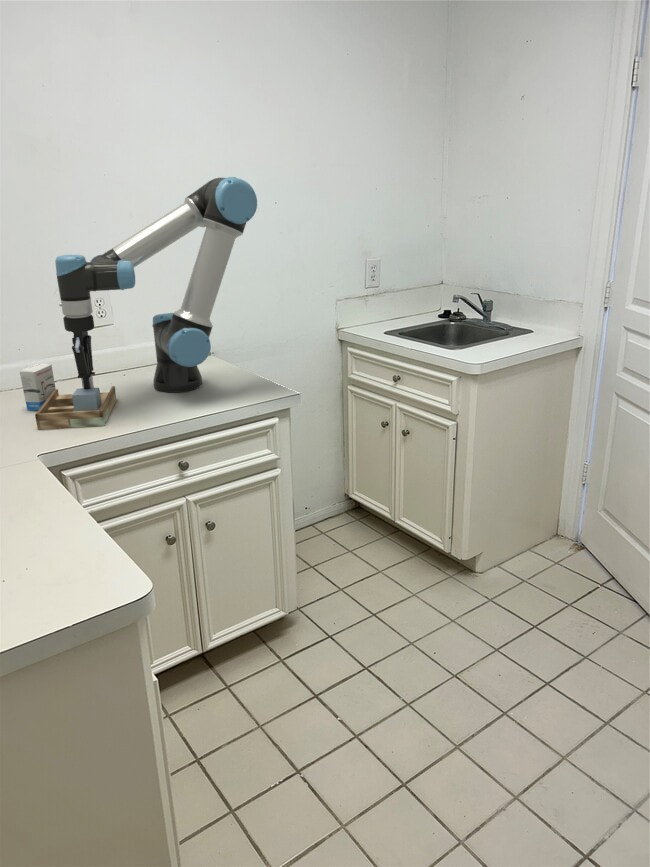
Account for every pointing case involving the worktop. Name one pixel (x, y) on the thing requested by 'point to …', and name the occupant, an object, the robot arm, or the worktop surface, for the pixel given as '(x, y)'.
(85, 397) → the block
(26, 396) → the ink box
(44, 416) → the wooden tray
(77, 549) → the worktop surface
